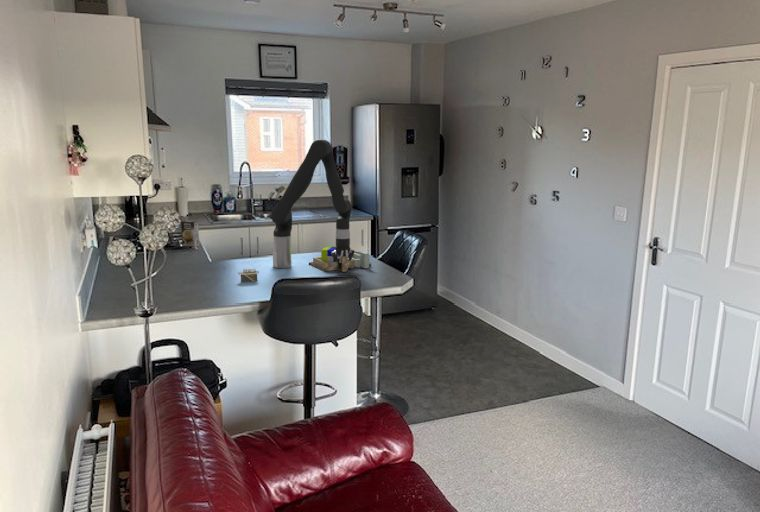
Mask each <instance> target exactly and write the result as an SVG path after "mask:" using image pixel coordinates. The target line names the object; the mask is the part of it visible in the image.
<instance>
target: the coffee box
mask: <svg viewBox="0 0 760 512" xmlns="http://www.w3.org/2000/svg"><path fill="white" fill-rule="evenodd" d="M180 226H181V227H180V228H181V229H180V230H181V246H182V247H197V246H200V232H199V231H200V230H199V220H190V219H189V220H188V219H186V220H181V221H180Z"/></svg>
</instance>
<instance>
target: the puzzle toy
mask: <svg viewBox="0 0 760 512" xmlns="http://www.w3.org/2000/svg"><path fill="white" fill-rule="evenodd" d="M335 249H336V246H327V245H326V246H325V247H324V248H322V249H321V254H320V255H321V256H320V257H321V260H322V261H324V262H326V263H332V262H336V261H334V259H333V257H332V254H331V252H333V251H335ZM336 256H338V254H337V253H336ZM337 259H338V257H337Z"/></svg>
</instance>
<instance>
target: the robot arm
mask: <svg viewBox="0 0 760 512" xmlns="http://www.w3.org/2000/svg"><path fill="white" fill-rule="evenodd" d="M320 162H322V164H323V167H324V172H325V179H326V184H327V186H328V189H329V191H330V194H331V195H330V196H331V201H332V206H333V208H334V210H335V212H336V213H338V216H337V218H336V221H335V247H336V249H335V251H333V252H331V254H332V257H333V259H334V261H336V262H338V268H339V269H340V270H342V263H341V262H342V257H343V256H347V257H348V261H351V259H352V257H353V254H354V253H356V252H355V249H352V248H351V246H350V245H351V231H350V219H351V214H352V203H351V201H350V200H349V199H347V198H345V197H344V192H345V189H344V186H343V183H342V181H341V180H342V179H341V177H340V175H339V171H338V168H337V166H336V162H335V158H334V152H333V147H332V145H331V143H330V141H329V140H327V139H322V138H319V139H315V140H314V141H312V143H311V145H310V146H309V149H308V151H307V153H306V155H305V158H304V159H303V161H302V162H301V164H300V166H299V167H298V169H297V171H296V172H295V173H294V175H293V177H292V178H291V180H290V182H289V184H288V186H287V188H286V189H285V191H284V193H283V195H282V197H281V198H280V199H279V201H278V202H277V203H276V205H275V206H274V207H273V209H272V210H271V213H270V218H271V222H272V223H274V224H275V228H274V230H273V249H272V267H274V268H276V269H288V268H291V267H292V229H293V212H292V208H293V207H294V205H295V204H296V203H297V201H298V200H300V198H301V197H302V196H303V195H304V194H305V193H306V191H307V189H308V188H309V186H310V185H311V183H312V181H313V177H314V173H315V170H316V169H317V166H318V165H319V163H320ZM336 253H337V254H338V256H336ZM337 257H338V259H337ZM340 270H339V271H340Z"/></svg>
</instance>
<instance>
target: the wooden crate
mask: <svg viewBox="0 0 760 512" xmlns="http://www.w3.org/2000/svg"><path fill="white" fill-rule="evenodd" d="M259 273H260V271H259V270H256V268H245V269H244V268H243V271H238V272H237V274H238V275H240V283H241V282H244V283H245V282H257V281H258V274H259Z"/></svg>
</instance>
